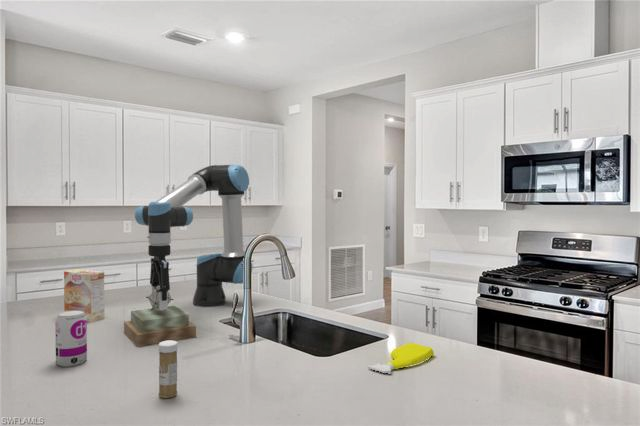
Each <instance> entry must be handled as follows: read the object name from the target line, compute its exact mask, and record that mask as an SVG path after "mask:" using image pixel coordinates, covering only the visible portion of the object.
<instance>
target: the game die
mask: <svg viewBox="0 0 640 426" xmlns="http://www.w3.org/2000/svg"><path fill="white" fill-rule="evenodd" d="M158 290H160V289H156V287H155V290H154V291H153V292H152V291H151V293H150V295H149V296H145V298H146V299H148V300H149V303H150V306H151V308H150V309H151V310H153V308H157V309H159V292H158ZM171 301H175V299H173V298H172V297H171V295H170V292H169V291H168V305H169V304H170V302H171ZM164 310H165V311H166V309H164Z"/></svg>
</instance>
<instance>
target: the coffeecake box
mask: <svg viewBox="0 0 640 426" xmlns="http://www.w3.org/2000/svg"><path fill="white" fill-rule="evenodd" d="M63 286H64V287H63V288H64V289H63V291H64V293H63V296H64V297H63V303H64V308H63V309H64V311H71V310H82V311H84V313H85V315H86V316H87V323H94V321H95V322H97V321H100V320H103V319H105V271H103V270H102V271H99V270H91V269H81V268H80V269H79V268H75V269H71V270H70V269H68V270H64V271H63ZM64 311H63V312H64Z"/></svg>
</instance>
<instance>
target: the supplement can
mask: <svg viewBox="0 0 640 426" xmlns="http://www.w3.org/2000/svg"><path fill="white" fill-rule="evenodd" d="M54 320H55V321H54V323H55V328H54V329H55V364H56V365H58V366H59V367H62V368H64V367H65V368H67V367H74V366H79V365H81V364H83V363H85V361H87V359H88V346H87V345H88V344H87V343H88V336H87V335H88V328H87V327H88V324H87V323H88V322H87V316H86V315H85V313H84V311H82V310H71V311H61V312H59V313H58V314H57V316H56V318H55V319H54Z"/></svg>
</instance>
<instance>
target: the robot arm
mask: <svg viewBox="0 0 640 426" xmlns="http://www.w3.org/2000/svg"><path fill="white" fill-rule="evenodd" d="M249 185H250V176H249V173H248V171H247V169H246V168H245V167H244V166H242V165H240V164H220V165H219V164H218V165H217V164H215V165H208V166H205V167H203V168H201V169H198V170H197V171H196V172H194V173H192V174H191V175H190V176H189V175H188V177H187V180H186V181H184V182H183V183H182V184H180V185H178V186H177V187H175V188H174V189H172V190H171V191H169V192H168V193H166V194H165V195H163V196H162V197H160V198H159V199H157V200H156V201H151V202H149V203H148V205H141V206H138V207H137V208H136V210H135V212H134V219H135V221H136V223H138V224H139V225H140V226H141V225H142V226H147V227H148V235H146V238H147V239H148V244H149V245H148V246H147V247H148V248H147V249H148V251H147V252H148V256H149V257H151V258H150V277H149V284H150V285H151V293H152V292H153V291H154V290H155V287H156V289H160V290H158V292H159V310H164V309H168V306H169V304H168V292H169V291H170V290H171V285H170V270H169V266H170V262H169V261H167V260H166V257H167V256H170V255H171V245H170V243H171V241H172V240H171V228H177V227H178V228H179V227H181V228H182V227H187V226H189V225H191V223H192V222H193V220H194V212H193V211H192V210H191V208H190V207H187V206H184V205H185V204H187V203H188V202H190V201H191V200H193V198H195V197H196V196H199V195H203V194H205V193H206V192H212V191H213V192H217V191H218V192H217V195H218V197H220V199H221V204H222V227H223V252H222V253H218V252H217V253H209V254H202V255H199V256H198V257H197V259H196V288H195V292H194V295H193V297H192V304H193V305H194V306H197V307H216V306H221V305H224V304H226V302H227V300H226V299H227V298H226V297H227V296H226V294H225V291H224V289H223V283H228V284H244V283H243V258H244V253H245V252H246V251H245V250H244V241H243V240H244V236H243V233H244V232H243V214H242V213H243V211H242V209H243V207H242V197H244V196H245V191H247V190H248V188H249ZM252 273H253V262H252V263H251V274H252Z"/></svg>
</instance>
